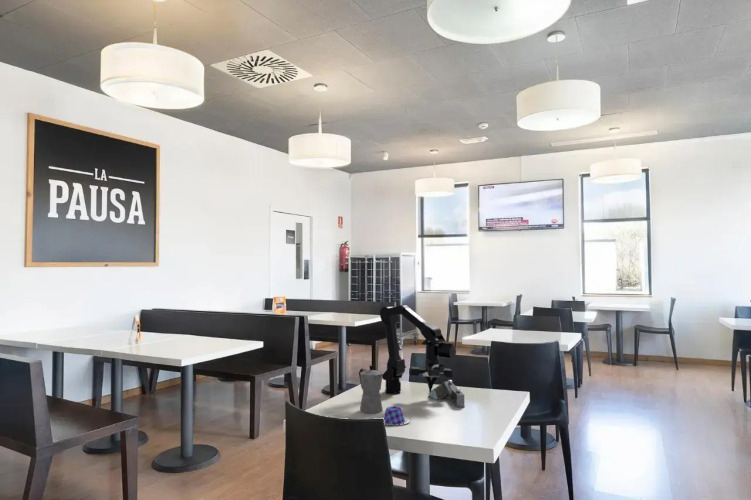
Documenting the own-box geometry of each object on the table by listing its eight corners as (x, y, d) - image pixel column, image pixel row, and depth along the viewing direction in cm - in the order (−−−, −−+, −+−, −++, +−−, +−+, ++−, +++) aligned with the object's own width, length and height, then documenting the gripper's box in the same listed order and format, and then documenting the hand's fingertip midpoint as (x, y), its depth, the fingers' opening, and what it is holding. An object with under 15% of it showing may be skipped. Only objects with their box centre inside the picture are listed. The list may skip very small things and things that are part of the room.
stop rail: (457, 407, 205) (457, 391, 206) (444, 392, 231) (444, 378, 232) (464, 407, 206) (464, 390, 206) (451, 392, 232) (450, 378, 232)
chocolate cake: (422, 395, 228) (426, 381, 219) (435, 389, 230) (440, 375, 222) (434, 413, 222) (438, 398, 213) (447, 406, 224) (452, 392, 216)
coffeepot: (390, 412, 197) (390, 366, 198) (370, 416, 192) (370, 369, 193) (369, 404, 210) (369, 361, 211) (349, 407, 205) (349, 363, 206)
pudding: (388, 416, 194) (388, 402, 194) (415, 420, 188) (415, 406, 188) (371, 423, 184) (371, 409, 184) (400, 429, 177) (399, 414, 178)
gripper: (413, 357, 211) (411, 395, 211) (456, 360, 212) (455, 397, 212) (409, 353, 223) (408, 389, 222) (451, 355, 224) (449, 391, 223)
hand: (430, 391), depth 219 cm, fingers closed
